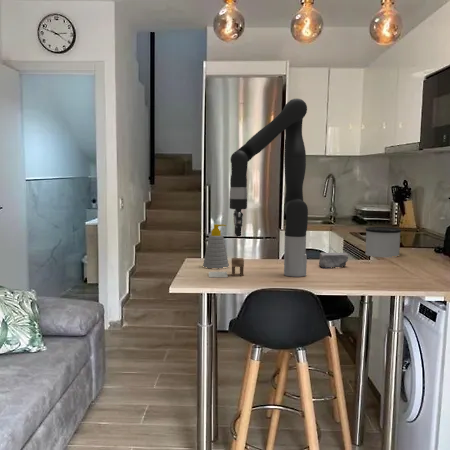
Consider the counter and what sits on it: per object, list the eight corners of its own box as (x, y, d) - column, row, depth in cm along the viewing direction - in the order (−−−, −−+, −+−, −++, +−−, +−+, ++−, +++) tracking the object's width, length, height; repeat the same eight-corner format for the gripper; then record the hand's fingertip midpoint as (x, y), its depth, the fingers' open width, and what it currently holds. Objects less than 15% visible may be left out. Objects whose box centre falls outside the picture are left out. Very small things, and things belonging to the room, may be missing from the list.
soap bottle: (224, 269, 219) (224, 225, 217) (198, 268, 223) (199, 224, 221) (232, 265, 230) (232, 223, 229) (208, 263, 234) (208, 222, 233)
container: (365, 251, 281) (366, 226, 280) (399, 253, 275) (400, 227, 274) (364, 256, 263) (365, 229, 262) (400, 258, 257) (401, 230, 256)
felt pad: (226, 272, 212) (226, 271, 212) (227, 277, 201) (227, 276, 201) (208, 272, 212) (208, 271, 212) (208, 277, 201) (208, 276, 201)
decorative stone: (313, 267, 230) (326, 269, 221) (313, 252, 230) (326, 254, 221) (336, 265, 237) (350, 267, 228) (336, 251, 237) (350, 253, 228)
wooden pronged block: (242, 273, 210) (242, 258, 209) (243, 276, 205) (243, 260, 204) (231, 273, 209) (231, 258, 209) (232, 276, 204) (232, 260, 204)
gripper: (248, 198, 197) (248, 237, 199) (245, 197, 211) (245, 233, 213) (230, 198, 197) (230, 237, 198) (228, 197, 211) (228, 233, 212)
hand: (237, 235), depth 205 cm, fingers open, 8 cm apart
